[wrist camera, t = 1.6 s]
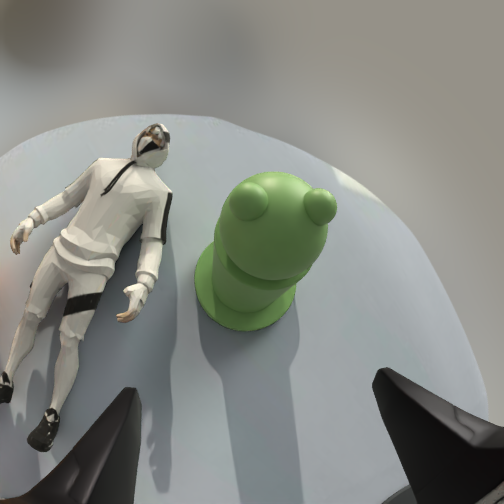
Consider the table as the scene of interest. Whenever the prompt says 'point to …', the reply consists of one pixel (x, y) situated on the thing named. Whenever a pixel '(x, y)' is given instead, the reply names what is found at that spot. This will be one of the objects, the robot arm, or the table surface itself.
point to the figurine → (92, 258)
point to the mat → (402, 497)
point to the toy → (262, 249)
